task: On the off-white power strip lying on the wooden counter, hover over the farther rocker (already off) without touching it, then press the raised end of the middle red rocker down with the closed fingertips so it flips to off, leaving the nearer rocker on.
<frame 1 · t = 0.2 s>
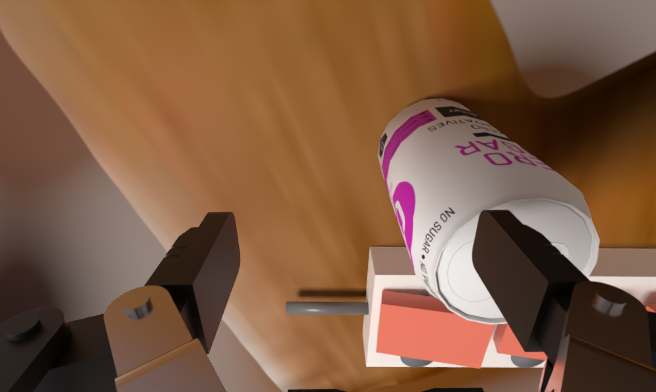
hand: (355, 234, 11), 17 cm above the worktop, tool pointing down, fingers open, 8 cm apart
supplement can: (426, 146, 29), on the worktop
rocker 1: (431, 329, 30), point 6 cm above the worktop, hinge at 10.0°
power strip: (520, 294, 36), on the worktop
rocker middle: (557, 330, 30), point 6 cm above the worktop, hinge at 10.0°
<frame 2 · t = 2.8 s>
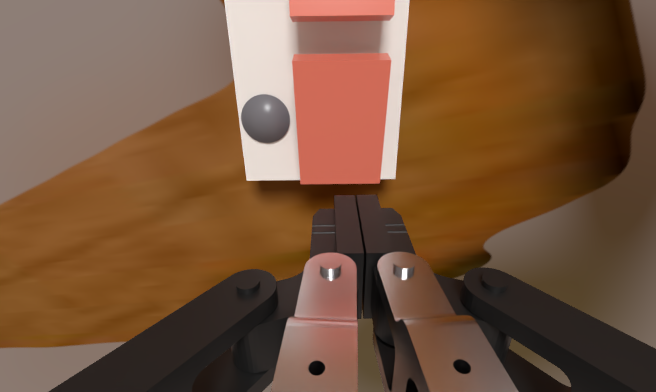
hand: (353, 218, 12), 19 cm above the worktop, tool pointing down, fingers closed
rocker 2: (340, 124, 24), point 6 cm above the worktop, hinge at -10.0°
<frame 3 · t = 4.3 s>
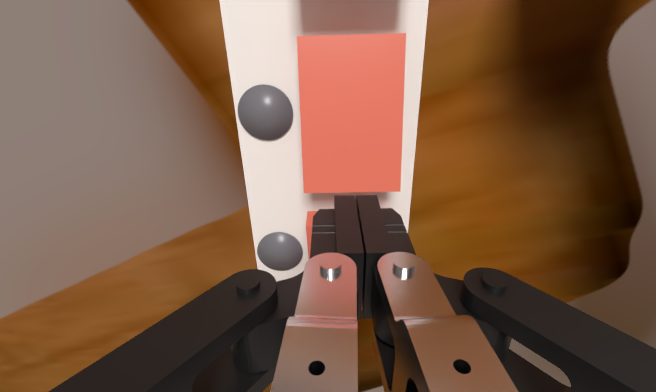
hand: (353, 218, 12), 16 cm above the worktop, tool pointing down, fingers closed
rocker 2: (350, 264, 26), point 6 cm above the worktop, hinge at -10.0°
power strip: (327, 99, 26), on the worktop
rocker middle: (350, 117, 21), point 6 cm above the worktop, hinge at 10.0°
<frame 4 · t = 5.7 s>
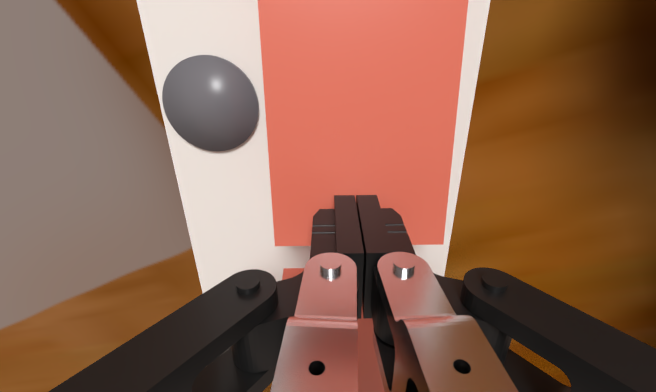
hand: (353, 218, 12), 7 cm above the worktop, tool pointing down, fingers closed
rocker 2: (353, 344, 17), point 6 cm above the worktop, hinge at -10.0°
power strip: (318, 86, 17), on the worktop
rocker middle: (358, 114, 12), point 6 cm above the worktop, hinge at 7.5°, touching gripper
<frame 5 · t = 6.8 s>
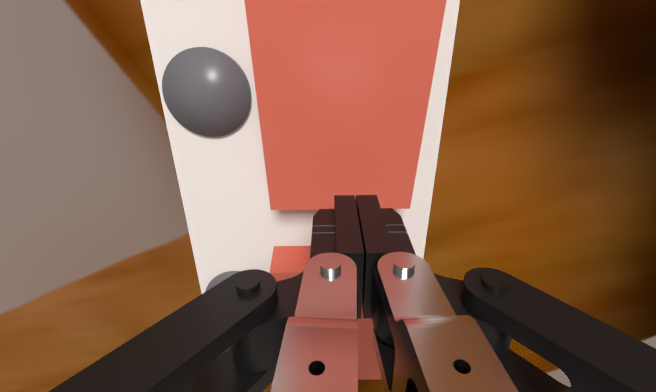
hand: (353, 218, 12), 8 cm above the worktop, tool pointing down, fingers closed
rocker 2: (338, 320, 18), point 6 cm above the worktop, hinge at -10.0°
power strip: (307, 79, 18), on the worktop
rocker middle: (341, 101, 13), point 6 cm above the worktop, hinge at -10.1°
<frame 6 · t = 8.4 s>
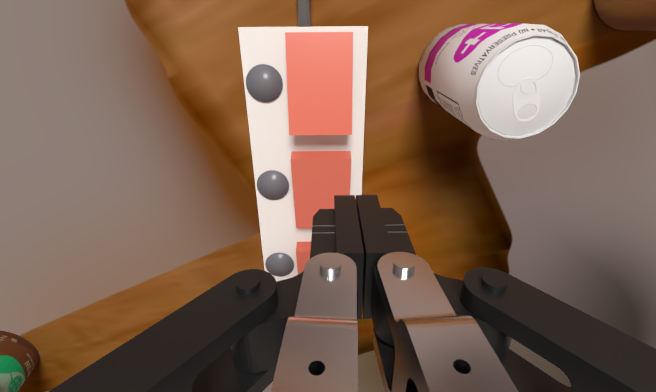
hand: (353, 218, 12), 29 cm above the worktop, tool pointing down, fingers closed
supplement can: (454, 66, 38), on the worktop
rocker 2: (323, 272, 42), point 6 cm above the worktop, hinge at -10.0°
rocker 1: (319, 85, 33), point 6 cm above the worktop, hinge at 10.0°
power strip: (310, 171, 43), on the worktop
rocker middle: (321, 191, 38), point 6 cm above the worktop, hinge at -10.1°
food container: (27, 351, 57), on the worktop
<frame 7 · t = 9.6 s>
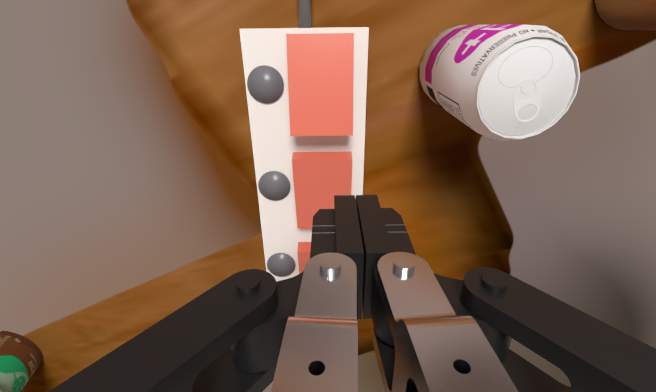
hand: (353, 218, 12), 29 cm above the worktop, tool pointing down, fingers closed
supplement can: (455, 66, 38), on the worktop
rocker 2: (324, 273, 43), point 6 cm above the worktop, hinge at -10.0°
rocker 1: (321, 86, 33), point 6 cm above the worktop, hinge at 10.0°
power strip: (311, 171, 43), on the worktop
rocker middle: (323, 191, 38), point 6 cm above the worktop, hinge at -10.1°
food container: (31, 351, 57), on the worktop
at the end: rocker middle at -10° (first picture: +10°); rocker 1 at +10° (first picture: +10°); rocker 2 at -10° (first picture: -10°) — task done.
